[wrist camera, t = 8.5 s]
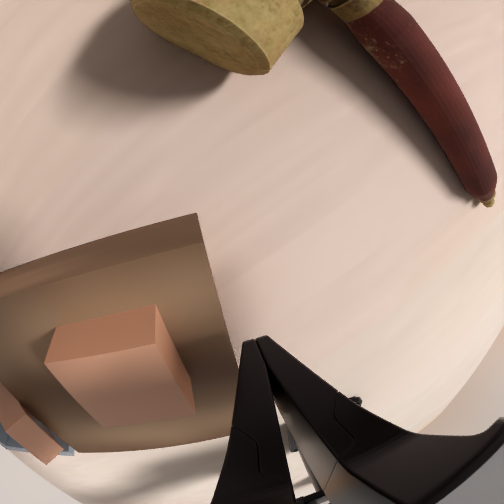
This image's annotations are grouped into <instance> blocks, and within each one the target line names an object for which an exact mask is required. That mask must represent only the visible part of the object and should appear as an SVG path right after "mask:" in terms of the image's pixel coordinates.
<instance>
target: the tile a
mask: <svg viewBox="0 0 504 504" xmlns="http://www.w3.org/2000/svg"><path fill="white" fill-rule="evenodd" d="M0 422H1V424H2V426H3V428H4V430H5V432H6V433H7V434H9V435H10V436H11V437H12V438H13V439H14V440H15V441H17V442H18V443H19V444H20V445H21V446H22V447H24V448H25V449H26V450H27V451H29V452H30V453H31V454H33V455H34V456H35V457H36V458H38V459H39V460H40V461H42V462H43V463H44V464H46V465H47V464H48V463H49V462H50V461H51V460H53V459H54V458H55V457H56V456H57V455H58V454H59V453H60V452H61V451H63V450H64V449H63V448H62V446H61V445H60V444H59V443H58V441H57V440H56V439H55V437H54V436H53V435H52V433H51V432H50V431H49V429H48V428H47V427H46V426H44V425H43V424H42V423H41V422H40V421H39V420H38V419H37V418H35V417H34V416H33V415H32V414H31V413H30V412H29V411H28V410H27V409H26V408H25V407H24V406H23V405H22V404H21V403H20V402H19V401H18V400H17V399H16V398H15V397H14V396H13V395H12V394H11V393H10V392H9V391H8V390H7V389H6V388H5V387H4V386H3V385H2V383H1V382H0Z"/></svg>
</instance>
